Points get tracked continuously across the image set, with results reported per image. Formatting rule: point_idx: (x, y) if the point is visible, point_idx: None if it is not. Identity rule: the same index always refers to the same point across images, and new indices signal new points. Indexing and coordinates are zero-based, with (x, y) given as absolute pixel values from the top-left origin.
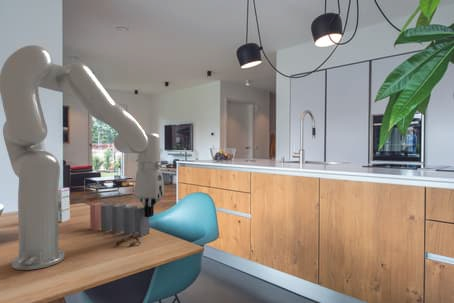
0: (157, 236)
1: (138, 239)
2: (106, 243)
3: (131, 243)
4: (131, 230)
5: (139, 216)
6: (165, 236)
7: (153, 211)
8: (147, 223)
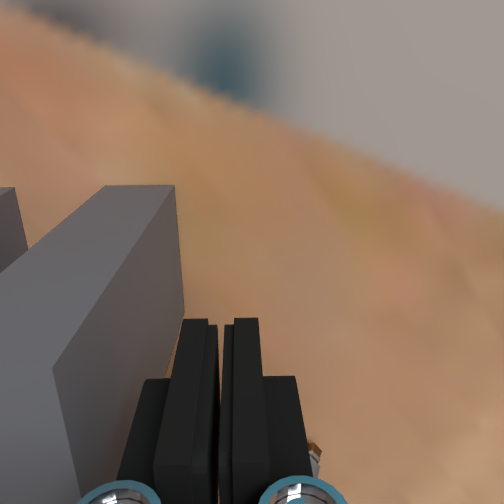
0: (322, 240)
1: None
2: None
3: None
4: None
5: None
6: (398, 211)
7: (297, 402)
8: (153, 254)
